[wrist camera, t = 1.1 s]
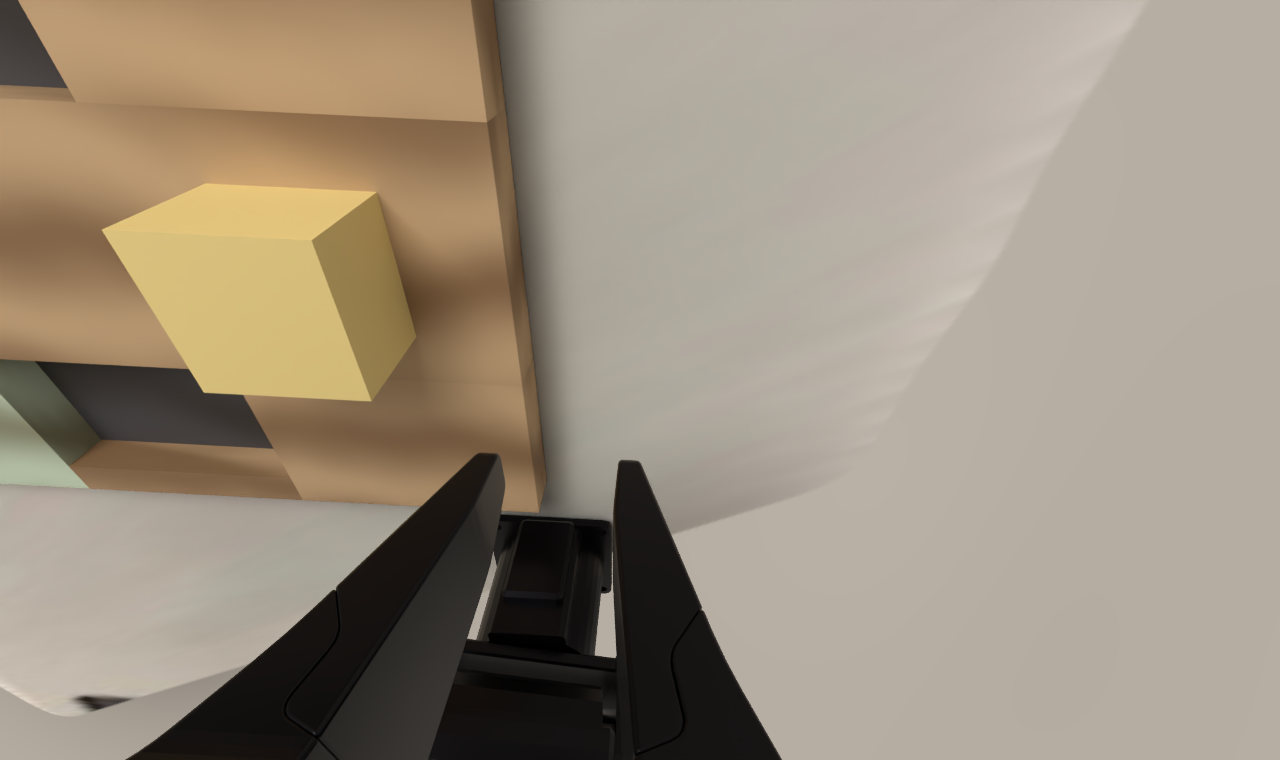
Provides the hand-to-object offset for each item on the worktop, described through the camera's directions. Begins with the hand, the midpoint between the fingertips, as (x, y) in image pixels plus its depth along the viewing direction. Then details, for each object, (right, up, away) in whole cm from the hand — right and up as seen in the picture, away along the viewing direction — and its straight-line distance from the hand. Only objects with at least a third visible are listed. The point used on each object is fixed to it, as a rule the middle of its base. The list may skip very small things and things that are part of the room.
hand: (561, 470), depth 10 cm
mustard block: (-9, +5, +6) cm, 12 cm away
